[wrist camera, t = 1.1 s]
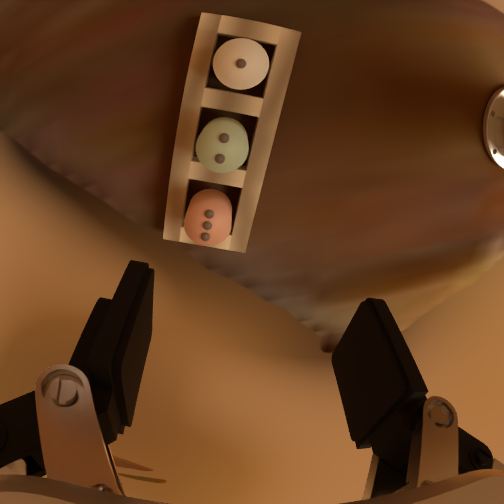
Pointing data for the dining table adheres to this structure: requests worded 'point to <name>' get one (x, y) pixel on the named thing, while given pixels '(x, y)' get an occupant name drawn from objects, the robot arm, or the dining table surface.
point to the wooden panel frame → (260, 107)
